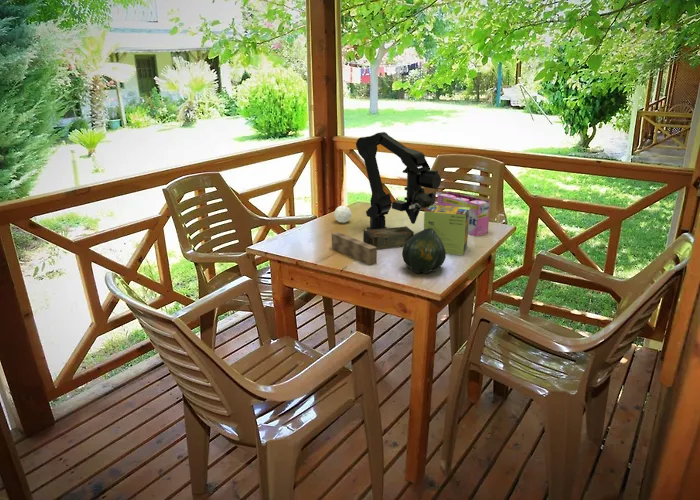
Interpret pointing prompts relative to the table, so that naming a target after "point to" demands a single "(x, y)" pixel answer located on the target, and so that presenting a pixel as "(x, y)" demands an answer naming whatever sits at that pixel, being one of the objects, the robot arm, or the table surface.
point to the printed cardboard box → (387, 237)
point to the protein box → (449, 226)
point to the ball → (342, 214)
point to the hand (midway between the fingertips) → (413, 223)
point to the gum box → (476, 212)
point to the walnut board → (354, 248)
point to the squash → (424, 251)
